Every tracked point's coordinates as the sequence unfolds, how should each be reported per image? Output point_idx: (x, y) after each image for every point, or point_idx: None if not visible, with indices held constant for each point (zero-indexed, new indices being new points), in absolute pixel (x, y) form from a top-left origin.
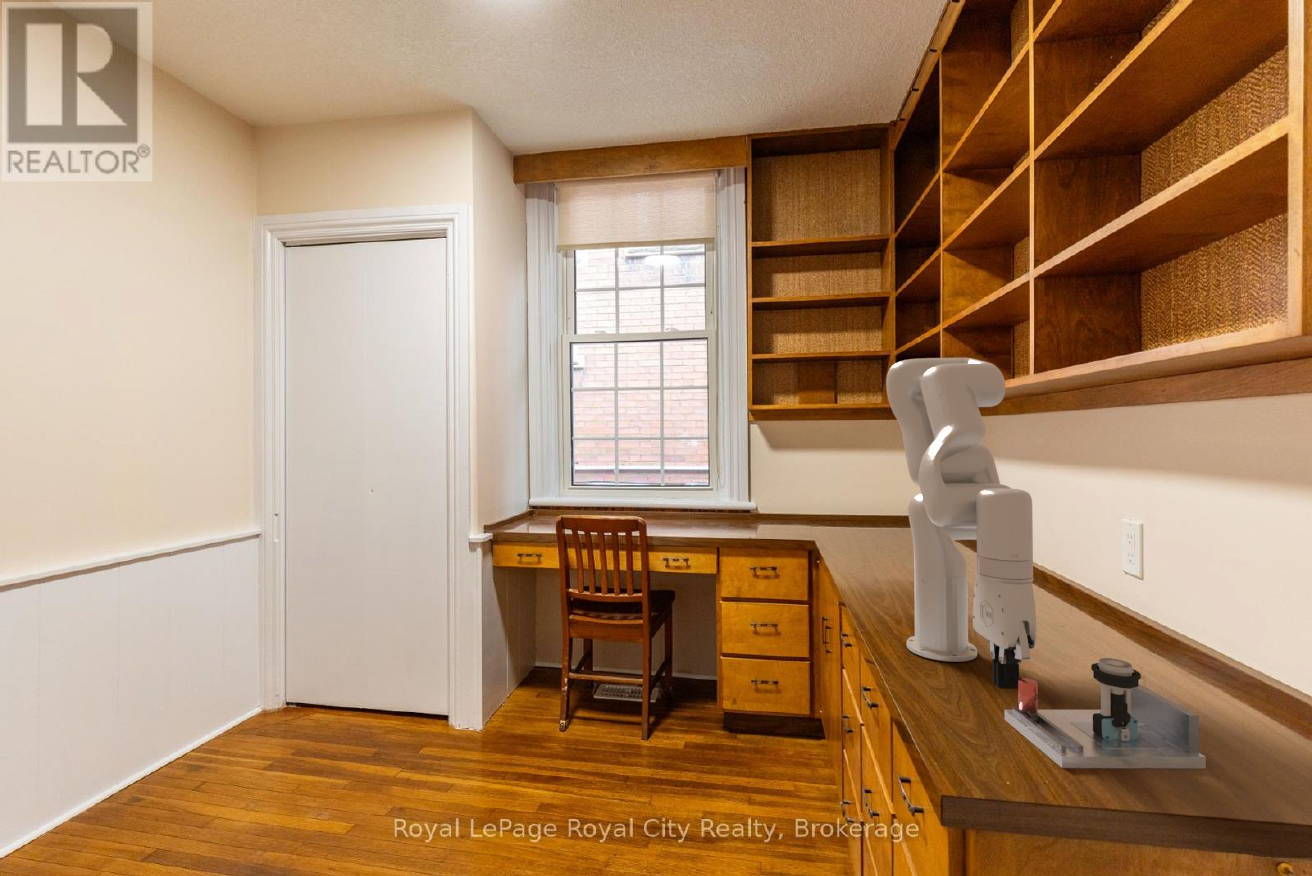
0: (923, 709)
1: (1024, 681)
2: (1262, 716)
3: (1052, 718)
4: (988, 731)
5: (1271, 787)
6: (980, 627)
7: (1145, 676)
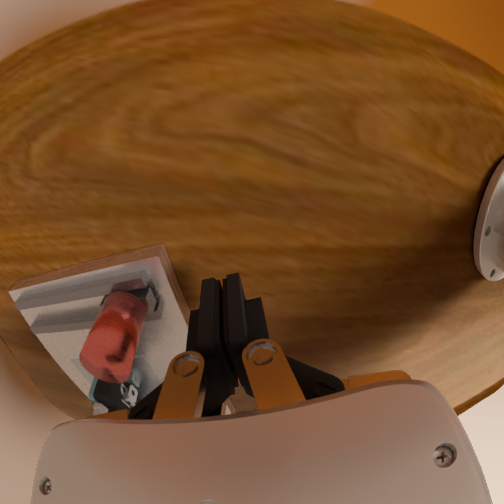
0: (180, 36)
1: (94, 359)
2: None
3: (149, 336)
4: (86, 188)
5: None
6: (317, 454)
7: None
